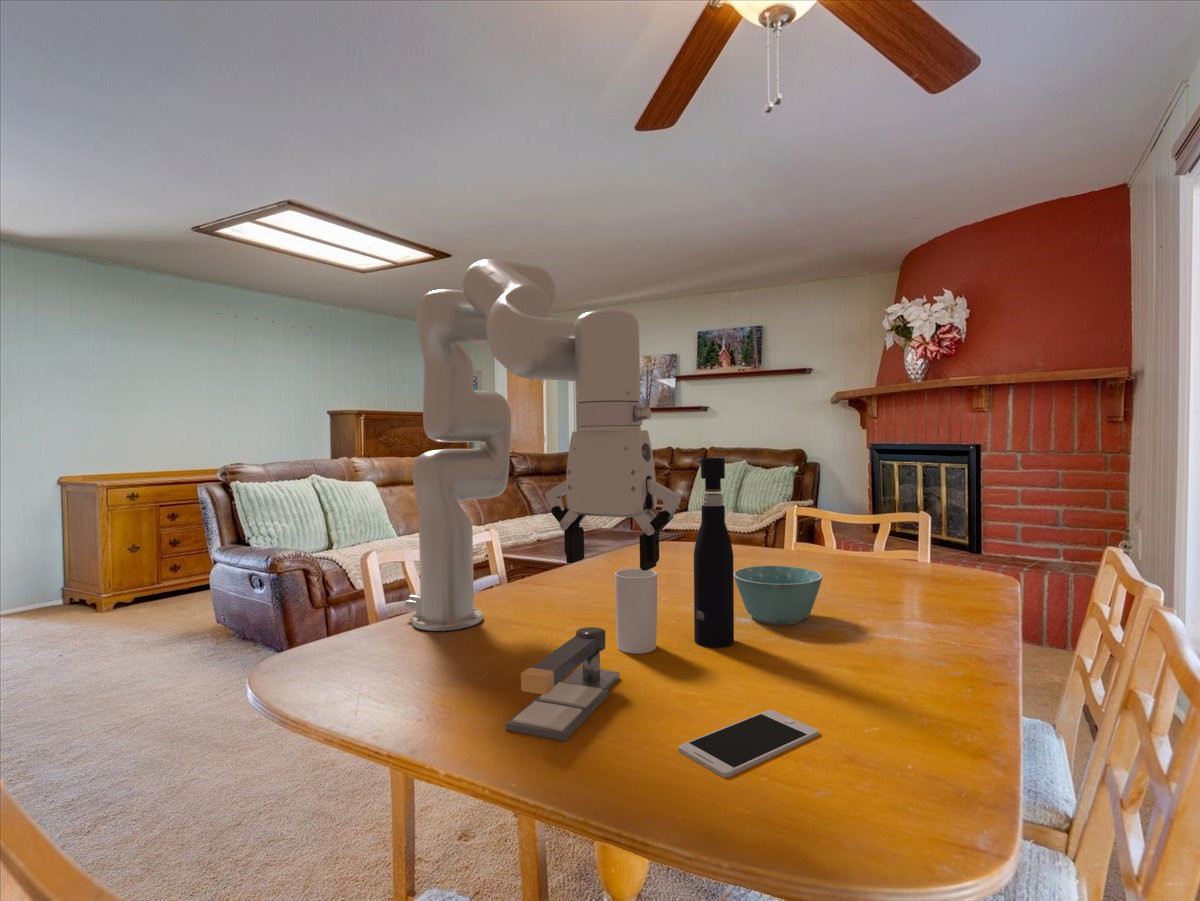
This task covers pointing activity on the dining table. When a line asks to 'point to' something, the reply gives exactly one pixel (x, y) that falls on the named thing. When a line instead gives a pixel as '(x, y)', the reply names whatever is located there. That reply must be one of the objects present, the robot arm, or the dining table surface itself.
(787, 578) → the bowl
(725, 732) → the smartphone
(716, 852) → the dining table surface
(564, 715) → the label tile
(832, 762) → the dining table surface
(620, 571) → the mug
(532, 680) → the swing arm
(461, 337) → the robot arm
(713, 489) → the black bottle
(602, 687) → the pivot post base
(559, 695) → the label tile
